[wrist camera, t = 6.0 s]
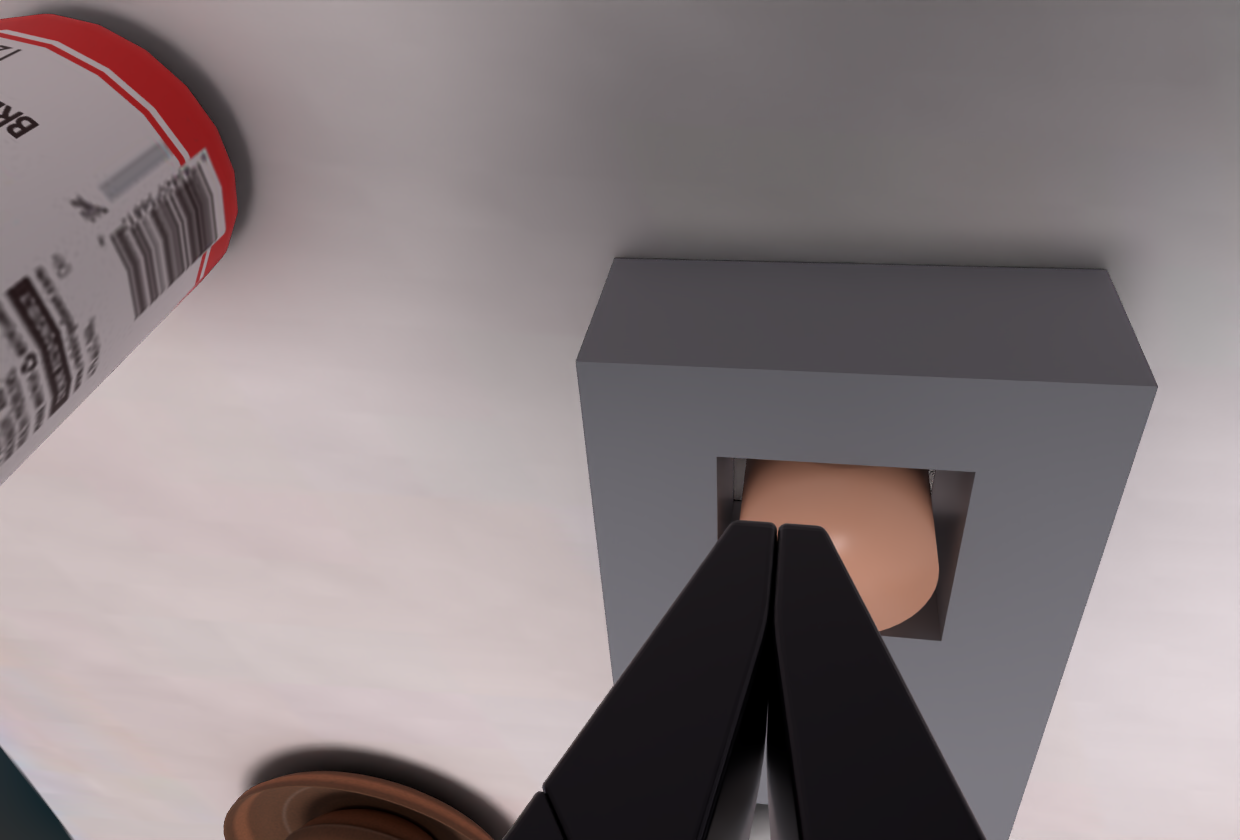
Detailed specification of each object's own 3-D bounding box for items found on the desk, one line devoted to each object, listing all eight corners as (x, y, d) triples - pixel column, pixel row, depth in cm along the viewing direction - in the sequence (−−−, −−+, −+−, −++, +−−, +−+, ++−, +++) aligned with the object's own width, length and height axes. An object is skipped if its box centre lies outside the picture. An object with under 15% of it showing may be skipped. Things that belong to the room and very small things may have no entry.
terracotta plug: (937, 392, 21) (952, 503, 18) (915, 528, 23) (925, 644, 20) (748, 384, 21) (734, 489, 19) (746, 516, 24) (734, 627, 21)
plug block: (1107, 269, 19) (1158, 386, 16) (956, 831, 32) (969, 957, 29) (614, 257, 21) (575, 361, 18) (658, 794, 34) (639, 908, 31)
